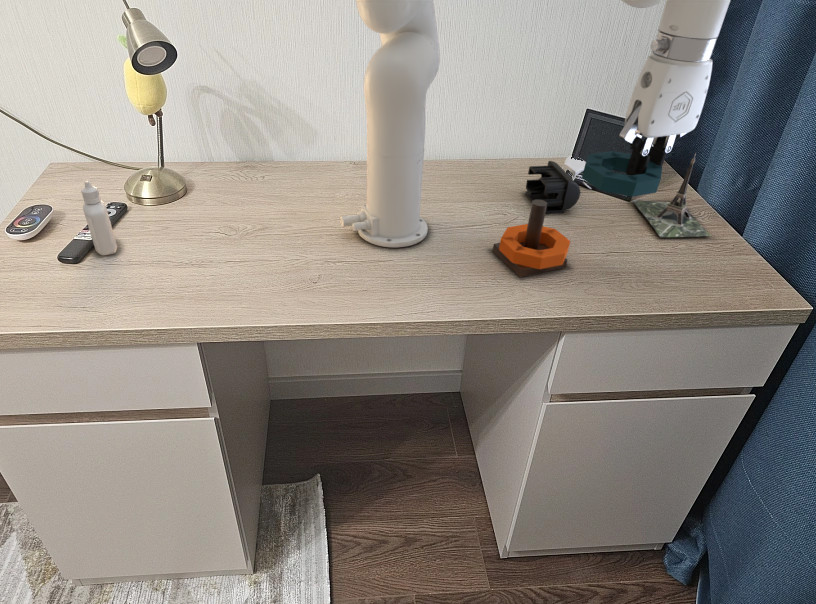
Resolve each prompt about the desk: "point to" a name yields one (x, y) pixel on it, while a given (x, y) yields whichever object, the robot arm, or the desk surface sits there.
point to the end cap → (553, 188)
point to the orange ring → (532, 256)
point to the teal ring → (605, 180)
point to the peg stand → (530, 241)
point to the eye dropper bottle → (98, 221)
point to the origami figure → (574, 166)
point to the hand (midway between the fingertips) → (641, 175)
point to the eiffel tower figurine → (672, 214)
